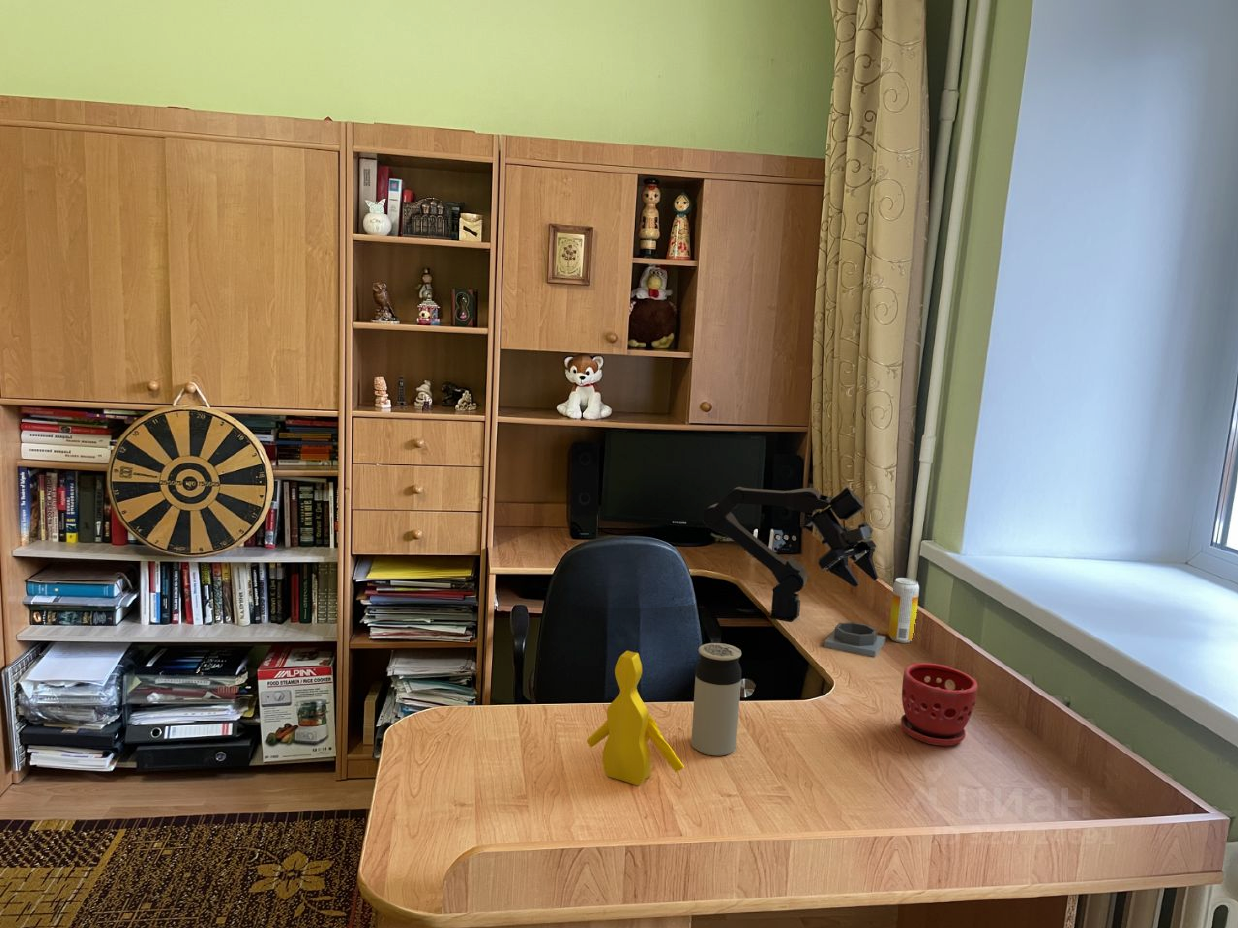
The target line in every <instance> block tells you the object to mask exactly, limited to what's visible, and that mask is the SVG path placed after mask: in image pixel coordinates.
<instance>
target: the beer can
mask: <svg viewBox="0 0 1238 928" xmlns="http://www.w3.org/2000/svg"><path fill="white" fill-rule="evenodd" d="M919 592H920V585H919V582H918V581H917V580H915V579H912V578H906V577H898V578H896V579H895V580H894V582H893V584H892V595H891V604H890V605H891V607H890V616H889V627H888V636H889V638H890V639H891V640H892V641H894V642H897V643H903V644H904V643H906V644H907V643H911V642H912V641H913V640H912V638H913V633H914V624H915V625H916V623H915V619H917V613H918V612H917V611H918V601H919V594H920V593H919ZM916 612H917V613H916ZM914 634H915V633H914ZM910 641H911V642H910Z"/></svg>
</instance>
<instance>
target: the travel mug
mask: <svg viewBox="0 0 1238 928" xmlns="http://www.w3.org/2000/svg"><path fill="white" fill-rule="evenodd" d="M698 653H699V655H700V658H699V660H698V662H697V663H696V664H695V665H696V666H695V676H694V677H695V678H694V679H695V681H694V696H693V707H692V708H693V711H692V712H693V713H692V725H691V742H690V743H691V744H690V745H691V746H692V747H693V749H695V750H697V751H698V752H700V753H702V754H705V755H708V756H715V757H716V756H717V757H718V756H726V755H729V754H731V753H733V752H735V750H736V749H737V741H738V740H737V739H738V725H739V724H738V723H739V711H740V710H739V709H740V698H741V697H740V695H741V694H740V693H741V685H742V684H741V683H742V682H741V681H742V668H741V664H740V663H739V660H740V657H741V656H742V651H741V649H740V648H738V647H736V646H734V645H731V644H727V643H722V642H721V643H720V642H709V643H705V644H703V645H701V646H699V647H698Z"/></svg>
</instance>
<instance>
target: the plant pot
mask: <svg viewBox="0 0 1238 928" xmlns="http://www.w3.org/2000/svg"><path fill="white" fill-rule="evenodd" d="M926 677H930V680H928V681H926V680H925V678H926ZM937 679H940V680H941V681H940V682H938V680H937ZM948 680H950V681H952V682H953V683H954V689H953V690H950V689H949V688H947V686H946V682H947V681H948ZM901 685H902V688H901V702H902V709H903V711H904V714H903V715H902V716H901V717H900V718H901V719H900V725H901V726H902V729H903V730H904V732H906V734H907V735H909V736H910V737H911V738H913V739H916V740H918V741H919V742H922V743H927V744H929V745H933V746H935V745H936V746H942V747H943V746H946V747H947V746H953V745H957V744H959V743H961V742H962V741H964V739H965V738H966V734H967V733H966V730H965V729H966V726H967V724H968V723H969V721H970V719H971V717H972V713H973V711H974V708H975V705H976V701H977V696H978V695H977V694H978V686H979V685H978V683H977V681H976V680H975V678H974V677H972V676H971V675H969V674H968V673H966V672H964V671H961V670H959V669H957V668H953V667H950V666H947V665H942V664H935V663H927V662H922V663H914V664H910V665H909V666H907V667H905V669H904V671H903V677H902V684H901ZM962 689H963V690H962Z"/></svg>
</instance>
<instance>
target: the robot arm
mask: <svg viewBox="0 0 1238 928" xmlns="http://www.w3.org/2000/svg"><path fill="white" fill-rule="evenodd" d="M740 504H745V505H760V506H761V505H762V506H771V507H784V508H786V509H789V510H792V511H796V512H799V513H803V514H807V515H805V521H804V523H803V525H804V526H805V527H812V526H814V527H815V529H816V530H817V532H818V533H819V535H820V536H821V537H822V539H823V540H821V543H822V544H823V545H824V546H825V545H827V546H828V547H829V550H828V551H826V552H825V553H824V554H823V555H822V556H821V557H819V558H818V565H819V567H820V568H821V570H822V571H824V570H825V571H826V572H829V573H831V574H833V575H834V576H836V577H838V578H840V579H842V580H843V581H845V582H846V583H848V584H850V585H851V586H853V587H854V588H856V587H858V586H859V582H858V580H857V578H856V576H855V574H854V573H853V571H852V569H851V567H850V565H849V558H851V560H853V561H854V562H853V563H854V564H855V566H857V567H858V568H859V569H860V570H861V571H863V572H864V573H865V574H866V575H867V576H868V577H869V578H870V579H872V580H873V581H877V580H878V579H879V578H878V577H879V576H878V574H877V570H876V567H875V563H874V559H873V556H874V553H875V552H876V548H877V545H876V543H875V542H874V541H873V540H872V539H873V537H872V533H873V531H874V529H873V528H872V527H871V525H869V524H868V522H863V523H859V524H858V525H857V528H854V529H850V528H849V527H847V526H843V525H842V524H841V522H840V521H839V520H845V521H848V520H849V519H851V518H852V517H854V516H855V515H857V514H858V513H860V512H862V511H863V510H864V509H865V508H866V506H865V504H864V502H863V500H862V499H861V497H860V496H859V495H858V494H856V493H855V492H854V491H853V490H851V488H850V487H849V486H846V487H845V488H844V489H842V490H841V492H839V493H838V494H837V495H835V496H834V497H831V496H828V495H825V494H821V493H820V491H819V490H818V489H816V488H813V487H808V488H807V487H806V488H798V489H791V490H775V489H764V488H763V489H761V488H760V489H759V488H750V487H749V488H747V487H742V486H738V487H735V488H733V489H732V490H731V491H730V493H729V494H728V495H727V496H725V498H723V499H722V500H721V501H719V502H718V503H714V504H712V505H710V506H709V507H707V508H706V509H705V510H703V511H704V512H703V513H702V514H703V515H702V522H703V524H704V525H705V526H706V527H707V528H709V529H711V530H713V531H715V532H716V533H719V534H721V535H724V536H726V537H729V539H731V540H732V541H733V542H734V543H736V544H737V545H738V546H740V547H741V548H742V549H744V550H745V552H747V553H748V554H750V555H751V556H752V557H753V558H755V559H756V560H757V561H758V562H760V564H762V565H763V566H765V567H766V568H767V569H768V570H769V571H770V572H771V574H772V575H773V576H774V578H775V580H776V581H777V583H775V585H774V586H773V587H772V596H771V597H772V598H771V608H770V609H771V610H770V611H771V612H770V613H769V614H768V617H769V618H772V619H773V618H774V619H778V620H782V621H788V622H793V621H795V620H796V619H797V618H798V617H799V616H800V609H801V600H800V599H799V596H800V594H799V593H798V592H799V591H801V590H802V589H803V587H804V586H805V585H806V582H808V581H807V580H808V572H807V571H806V569H805V568H804V566H805V565H804V564H803V563H802V564H801V563H799V562H798V561H797V560H796V559H795V558H794V557H793V556H790V557H789V558H788V559H786V558H784V557H781V556H780V555H779V554H778V553H777V552H775V551H774V550H772V549H771V548H770V547H769V546H767V544H765V543H763V542H762V541H761V540H760V539H759V538H757V537H756V536H755V535H753V534H752V533H751V532H750V531H748V530H747V529H746V528H745V527H744V526H743V525H742V524H740V523H739V521H738V520H737V518H736V516H735V515H734V514H733V513H732V512H733V511H734V510H735V509H736V508H737V507H738V506H739V505H740ZM816 510H817V511H816ZM815 511H816V512H815ZM808 514H812V515H808ZM871 538H872V539H871Z"/></svg>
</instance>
